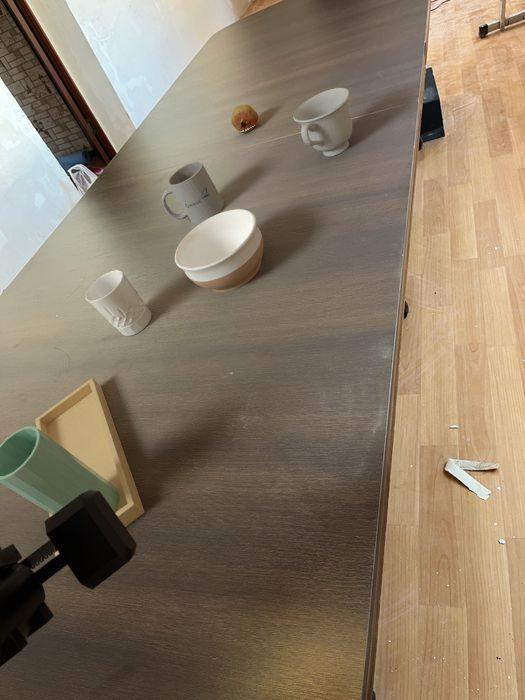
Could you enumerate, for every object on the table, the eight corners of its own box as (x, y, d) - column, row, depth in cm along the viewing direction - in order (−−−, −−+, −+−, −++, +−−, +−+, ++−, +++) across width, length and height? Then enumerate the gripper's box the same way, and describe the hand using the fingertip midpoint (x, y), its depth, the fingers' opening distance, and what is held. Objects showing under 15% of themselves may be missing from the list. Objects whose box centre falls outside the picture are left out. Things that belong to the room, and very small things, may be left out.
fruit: (226, 109, 136) (225, 122, 128) (246, 92, 133) (245, 105, 125) (242, 129, 139) (242, 143, 132) (261, 113, 136) (262, 126, 129)
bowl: (215, 248, 99) (195, 216, 94) (285, 237, 91) (267, 201, 86) (183, 306, 90) (159, 274, 85) (257, 298, 82) (236, 262, 77)
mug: (226, 195, 113) (205, 156, 107) (221, 216, 108) (198, 176, 101) (181, 212, 118) (158, 175, 111) (173, 233, 112) (149, 196, 106)
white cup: (161, 309, 93) (130, 269, 86) (138, 340, 89) (104, 301, 82) (134, 307, 97) (103, 270, 91) (111, 337, 94) (77, 300, 87)
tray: (145, 512, 62) (134, 504, 61) (69, 570, 61) (56, 563, 60) (101, 385, 85) (92, 377, 83) (44, 426, 84) (34, 419, 82)
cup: (125, 507, 63) (44, 448, 54) (83, 544, 62) (-8, 491, 53) (111, 475, 68) (33, 416, 59) (71, 509, 67) (-14, 454, 58)
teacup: (294, 176, 105) (276, 133, 99) (324, 136, 112) (308, 93, 105) (344, 171, 98) (327, 124, 91) (372, 129, 104) (359, 82, 98)
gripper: (7, 442, 31) (89, 429, 46) (-254, 632, 29) (-79, 553, 45) (110, 589, 30) (159, 526, 46) (-154, 793, 29) (-11, 656, 44)
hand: (56, 562), depth 45 cm, fingers open, 9 cm apart
